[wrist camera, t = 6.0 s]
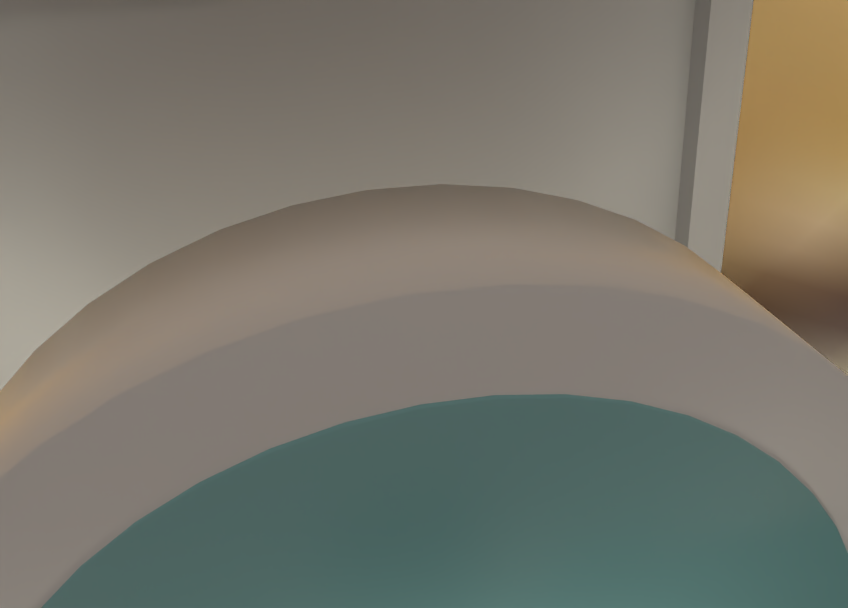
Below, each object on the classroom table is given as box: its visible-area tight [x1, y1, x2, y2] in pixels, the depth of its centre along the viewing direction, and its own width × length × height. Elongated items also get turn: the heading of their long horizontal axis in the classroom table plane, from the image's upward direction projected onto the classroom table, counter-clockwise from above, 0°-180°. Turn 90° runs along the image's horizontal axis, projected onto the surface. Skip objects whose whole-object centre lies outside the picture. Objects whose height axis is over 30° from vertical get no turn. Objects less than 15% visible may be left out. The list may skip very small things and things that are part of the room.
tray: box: [0, 0, 753, 391], centre depth 11 cm, size 14×14×4 cm
